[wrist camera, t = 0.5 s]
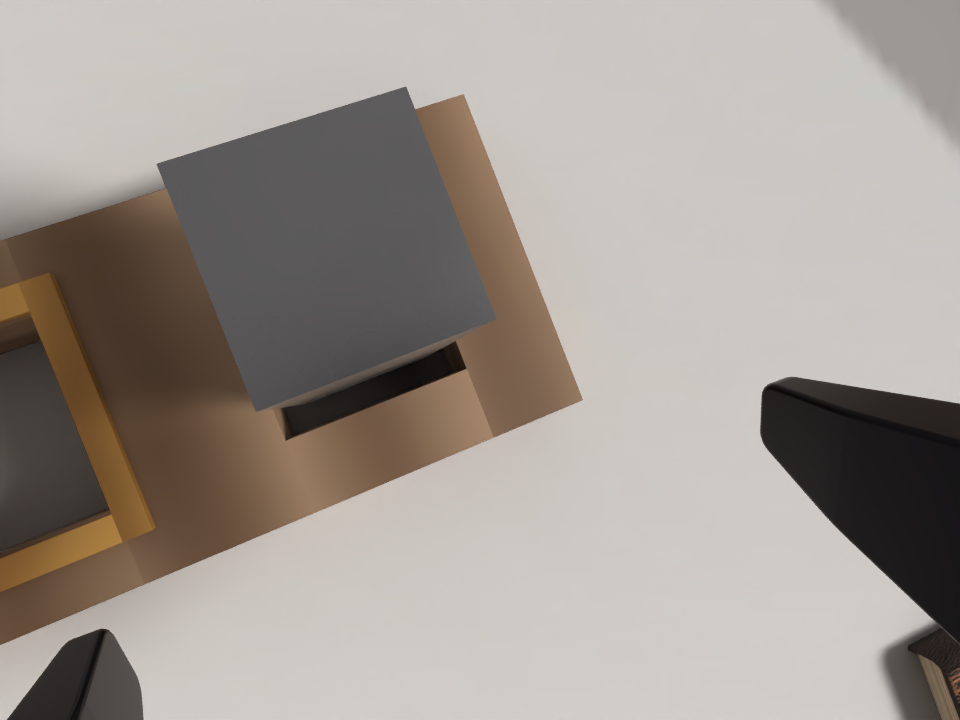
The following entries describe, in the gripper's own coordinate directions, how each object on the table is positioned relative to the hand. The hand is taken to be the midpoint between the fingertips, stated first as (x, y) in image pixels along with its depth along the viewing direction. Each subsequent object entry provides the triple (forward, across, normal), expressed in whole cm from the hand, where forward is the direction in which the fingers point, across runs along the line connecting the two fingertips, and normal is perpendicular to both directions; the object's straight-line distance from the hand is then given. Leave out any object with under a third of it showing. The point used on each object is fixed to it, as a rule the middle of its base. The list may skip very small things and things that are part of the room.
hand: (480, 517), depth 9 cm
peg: (+15, 0, +3) cm, 15 cm away
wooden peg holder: (+15, +5, +3) cm, 16 cm away
